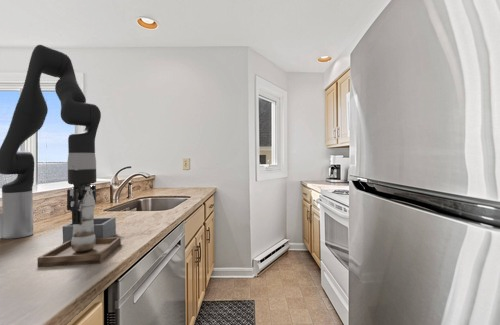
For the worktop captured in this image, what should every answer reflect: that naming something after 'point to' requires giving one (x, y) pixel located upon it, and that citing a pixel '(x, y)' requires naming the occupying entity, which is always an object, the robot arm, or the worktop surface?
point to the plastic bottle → (85, 227)
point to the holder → (101, 229)
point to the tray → (79, 253)
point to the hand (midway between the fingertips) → (83, 221)
